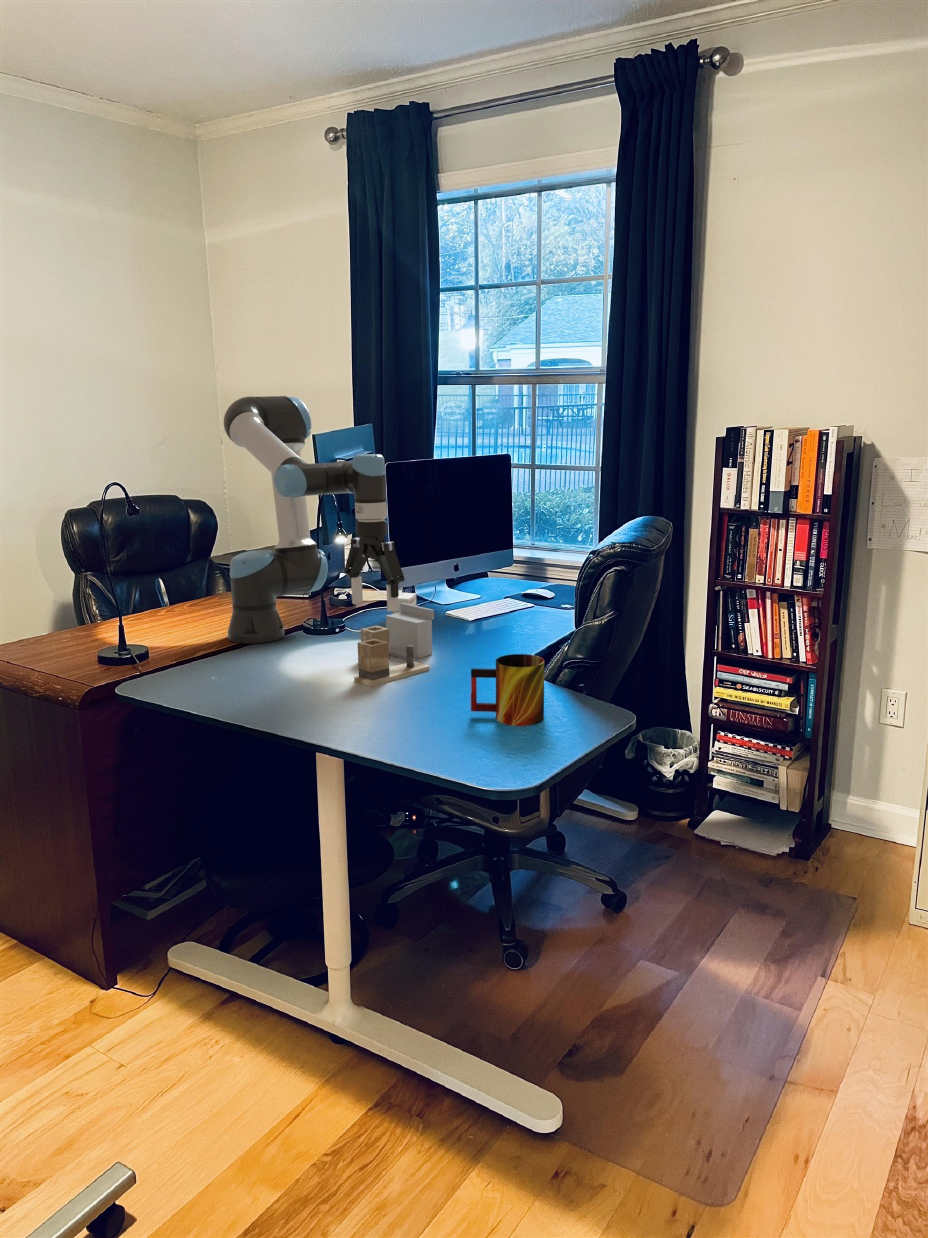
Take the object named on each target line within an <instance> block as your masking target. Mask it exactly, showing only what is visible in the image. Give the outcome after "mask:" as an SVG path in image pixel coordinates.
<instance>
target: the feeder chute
mask: <svg viewBox="0 0 928 1238" xmlns="http://www.w3.org/2000/svg"><path fill="white" fill-rule="evenodd" d="M400 606H401V612H400V613H396V614H392V613H391V614H386V615H385V628H388V629H389V637H390V656H392V657H396V658H399V659H403V660H405V661H406V646H408V645H413V646H414V660H415V659H420V658H423V657H426V656H431V655H433V620H435V609H431V608H427V607H424V606H423V607H422V606H418V605H416V606H414V605H410V604H405V603H400Z"/></svg>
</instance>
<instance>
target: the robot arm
mask: <svg viewBox="0 0 928 1238" xmlns="http://www.w3.org/2000/svg"><path fill="white" fill-rule="evenodd" d="M223 427H224V431H225V434H226V435H227V437H228V439H230V440H231V442H233V443H234V444H235V445H236V446H237V447H240V448H244V449H246V451H248V452H249V454H251V455H252V456H253V457H254V458H255V459H256V460H257V461H259V463H260V464H262V466H264V467H265V468H266V470H268V471H269V472H270V473H271V482H272V483H271V484H272V491H273V499H274V506H275V507H274V508H275V516H276V524H277V525H276V526H277V532H278V543H277V544H276V545H275V546H274V553H275V554H274V553H273V551H272V550H271V549H259V550H257V549H255V550H249V551H245V552H242V553H239V554H237V555H235V556H234V557H232V558H231V560H230V562H229V577H230V589H231V590H230V591H231V604H232V614H231V617H230V622H229V625H228V630H227V639H228V640H229V641H230V642H233V643H236V644H237V643H238V644H245V645H246V644H251V645H252V644H265V643H271V642H274V641H278V640H281V639H283V638H284V637H285V627H284V626H285V625H284V624H283V621H282V619H281V616H280V614H279V612H278V609H277V598H278V597H285V596H293V595H298V594H308V593H311V592H316V591H319V590H320V589H321V588H322V587H323V586H324V584H325V582H326V580H327V577H328V576H327V575H328V568H329V566H328V561H327V560H328V559H327V557H326V554H325V553H324V551H323V550H322V549H318V545H317V542H316V541H314V540H313V539H312V537H311V531H310V521H309V516H308V515H309V514H308V506H307V497H308V496H310V497H311V496H324V495H337V494H338V495H339V494H353V496H354V512H355V514H354V515H355V519H356V520H357V521H356V522H355V536H356V537H352V538H350V548H349V551H348V555H347V558H346V559H347V560H346V563H345V566H344V570H343V572H344V574H345V575H348V577H349V578H350V590H351V603H352V604H353V605H357V604H362V603H364V599H363V579H362V574H361V573H362V571H363V569H364V567H365V565H366V563H367V562H368V559H371V560H374V561H375V562H377V564H378V565H379V567H380V570H381V571H382V573H383V575H384V576H385V578H386V580H387V583H386V584H385V585H386V586H385V587H386V608H387V610H386V611H387V612H390V613H391V612H392V611H395V610H398V596H399V593H400V592H399V584H400V583H402V582H404V581H405V576H404V572H403V570H402V567H401V564H400V561H399V558H398V555H397V552H396V547H395V542H394V541H388V542H387V541H385V539H386V538H385V537H386V536H388V521H387V520H385V519H387V518H388V512H387V511H388V509H387V484H386V483H387V482H386V481H387V479H386V478H387V477H386V475H387V471H386V466H385V465H386V464H385V458H384V456H383V455H382V454H378V453H375V454H373V453H372V454H371V453H368V454H367V453H366V454H363V453H362V454H356V455H354V456H353V458H352V461H347V460H342V461H341V460H340V461H334V462H318V463H315V462H314V463H307V462H306V461H305V460H303V459H302V454H301V451H302V450H303V448H304V447H305V446H306V441H305V440H307V439H308V438H309V437H310V435H311V429H312V417H311V415H310V411H309V409H308V408H307V405H306V403H304V402H303V400H301V399H300V398H298V397H295V396H287V395H280V396H279V395H278V396H277V395H275V396H274V395H273V396H272V395H271V396H270V395H269V396H267V395H266V396H254V395H253V396H252V395H251V396H243V397H240V398H238V399H237V400H235V401H234V402H232V403H231V404H230V405H229V406H228V408H227V409H226V410H225V412H224V416H223Z"/></svg>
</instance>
